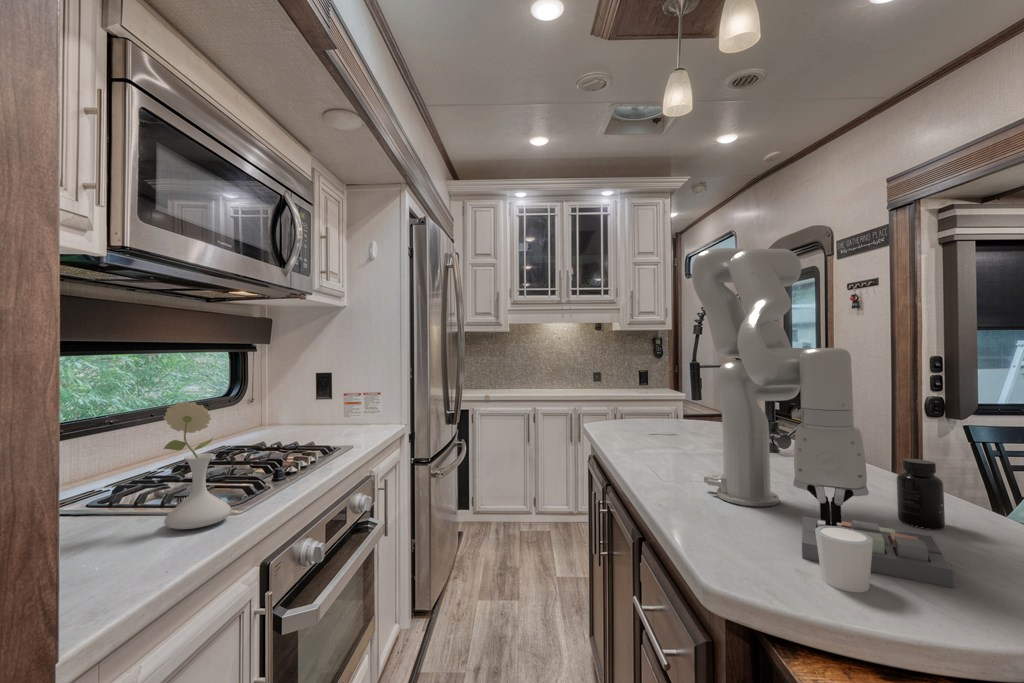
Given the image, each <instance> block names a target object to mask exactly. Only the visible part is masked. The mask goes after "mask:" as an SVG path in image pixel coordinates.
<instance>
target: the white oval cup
mask: <svg viewBox="0 0 1024 683" xmlns="http://www.w3.org/2000/svg"><path fill="white" fill-rule="evenodd" d="M815 532H816V540H817V547H818V555H819V561H818V563H819V568H820V576H821V580H822V581H823V582H824V583H825V584H827V585H829V586H830V587H833V588H835V589H837V590H841V591H845V592H850V593H865V592H868V591H869V589H870V583H871V573H872V572H871V560H872V548H873V540H872V538H871V537H870V536H868V535H867V534H865V533H862V532H860V531H857V530H853V529H849V528H845V527H838V526H821V527H817V528H816V529H815Z"/></svg>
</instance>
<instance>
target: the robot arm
mask: <svg viewBox="0 0 1024 683" xmlns="http://www.w3.org/2000/svg"><path fill="white" fill-rule="evenodd" d="M801 274H802V264H801V260H800V258H799V256H797V254H796V253H795V252H793V251H792V250H790V249H787V248H760V247H758V248H756V247H748V248H747V247H744V248H743V247H740V248H739V247H734V248H733V247H721V248H720V247H718V248H711V249H706V250H703V251H702V252H700V253H699V254H697V255H696V256H695V258H694V260H693V262H692V266H691V280H692V281H691V282H692V286H693V288H694V292H695V294H696V296H697V298H698V300H699V301H700V303H701V305H702V307H703V310H704V312H705V316H706V320H707V323H708V327H709V331H710V332H709V333H710V335H711V338H712V343H713V346H714V348H715V350H716V353H717V354H718V355H719V356H721V357H724V358H728V359H733V360H730V361H727V362H724V363H723V364H722V365H720V367H719V368H718V370H717V372H716V385H717V390H718V395H719V400H720V406H721V407H720V408H721V420H722V422H721V426H722V427H721V428H722V456H723V461H722V464H723V473H722V475H720V474H719V475H718V476H715V475H711V474H710V475H709V474H704V475H703V482H704V483H705V484H707V486H715V487H718V488H717V489H716V495H717V497H718V498H719V499H721V500H723V501H726V502H728V503H731V504H735V505H740V506H745V507H746V506H748V507H759V508H761V507H772V506H776V505H777V504H778V503H780V498H779V495H778V494H777V493H775V492H773V491H771V488H772V487H771V462H770V461H771V460H770V459H771V456H770V453H771V452H770V427H769V426H770V425H769V420H768V417H767V415H766V413H765V412H764V411H763V409H762V407H760V405H759V403H758V402H772V401H773V402H776V401H777V402H778V401H779V402H780V401H782V402H783V401H789V400H792V399H794V398H795V397H797V396H798V394H799V393H800V408H799V409H797V410H791V418H792V419H796V420H799V421H801V423H800V424H798V425H796V428H795V432H794V433H795V435H794V444H793V445H794V447H793V448H794V449H793V472H794V479H793V487H795V488H798V489H801V490H803V491H807V492H808V493H810V494H811V495H812V496H813V497H814V498H815V500H817V501H818V503H819V510H820V511H819V513H820V518H819V519H821V520H824V521H825V524H826V525H828V526H831V524H832V526H837V523H842V522H843V520H842V505H844V503H846V502H847V501H848V500H849V499H851V498H852V497H865V496H868V495H869V494H870V492H869V489H868V486H867V484H868V483H867V481H868V477H867V476H868V475H867V463H866V453H865V447H864V442H863V441H864V440H863V437H862V434H861V430H860V429H859V428H858V427H855V422H854V421H855V420H854V419H855V418H854V399H853V398H854V397H853V396H854V395H853V378H852V377H853V376H852V375H853V374H852V356H851V354H850V352H849V350H847V349H845V348H842V347H841V348H840V347H818V348H816V347H792V346H791V344H790V340H789V337H788V335H787V333H786V330H785V329H784V328H783V326H782V325H781V324H780V323H779V322H778V321H777V320H778V319H781V318H782V317H784V315H786V314H787V313H788V312H789V310H790V308H791V306H792V302H791V301H792V300H791V298H790V296H789V294H788V292H787V290H786V288H785V287H790V286H793V285H794V284H795V283H796V282H798V280H799V279H800V276H801ZM725 283H728V284H729V283H730V284H733V285H734V288H735V290H736V292H737V294H738V295H737V294H736V293H735V292H734V291H733V290H732V289H730V288H729V287H728V286H727V285H726V284H725ZM734 359H735V360H734ZM825 488H830V489H831V488H832V489H834V491H833V492H834V493H833V496H832V497H831V501H830V500H829V498H828V496H827V495H826V490H825ZM830 520H831V521H830Z"/></svg>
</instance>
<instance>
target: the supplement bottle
mask: <svg viewBox="0 0 1024 683" xmlns="http://www.w3.org/2000/svg"><path fill="white" fill-rule="evenodd" d="M901 468H902V470H903V471H902V472H899V473H898V475H897V476H896V496H897V498H896V502H897V504H896V505H897V517H898V520H899V521H900V522H901V521H902V522H901V523H903V524H905V523H906V524H905V525H908V524H909V525H908V526H911V525H913V526H912V527H915V526H918V527H917V528H919V527H923V528H922V529H925V528H930V529H929V530H940V529H941V528H942V529H944V527H945V524H946V515H945V514H946V513H945V512H946V511H945V491H944V489H945V488H944V482H943V481H942V479H941V478H940V477H938V476H936V475H935V474H937V469H936V463H935V462H934V461H931V460H926V459H918V458H903V459H902V466H901Z"/></svg>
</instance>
